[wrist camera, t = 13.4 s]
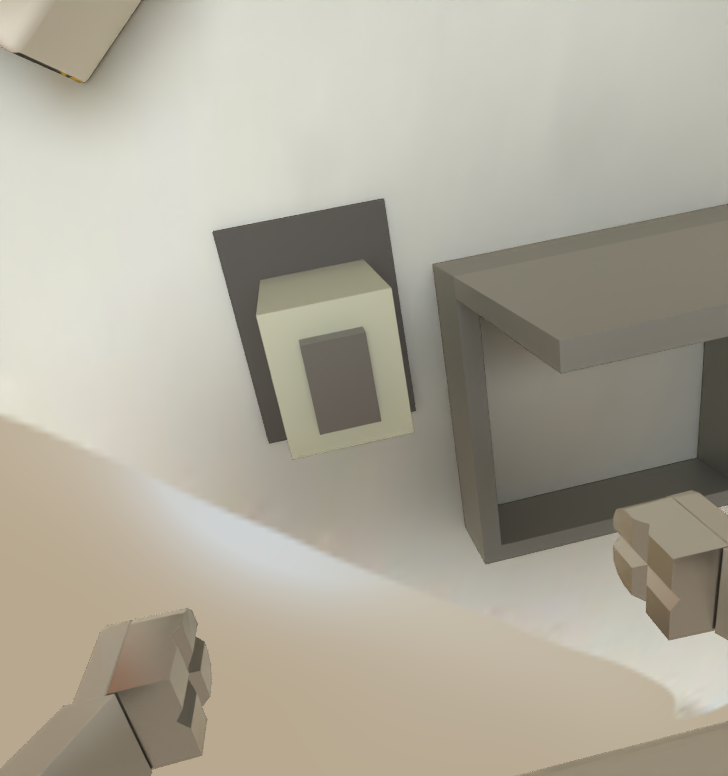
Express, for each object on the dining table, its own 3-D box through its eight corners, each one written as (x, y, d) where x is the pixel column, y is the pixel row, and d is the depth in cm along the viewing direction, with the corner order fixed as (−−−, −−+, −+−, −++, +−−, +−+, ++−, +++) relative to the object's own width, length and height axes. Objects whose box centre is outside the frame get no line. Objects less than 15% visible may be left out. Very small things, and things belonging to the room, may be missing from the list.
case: (745, 200, 29) (1093, 224, 17) (723, 465, 35) (967, 625, 23) (432, 264, 28) (559, 340, 16) (465, 526, 34) (575, 732, 22)
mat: (382, 198, 27) (384, 198, 26) (414, 408, 31) (415, 410, 30) (213, 231, 26) (212, 232, 26) (268, 440, 30) (268, 443, 30)
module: (363, 259, 27) (395, 292, 20) (382, 374, 29) (418, 441, 22) (260, 280, 27) (255, 321, 20) (288, 394, 29) (292, 469, 22)
